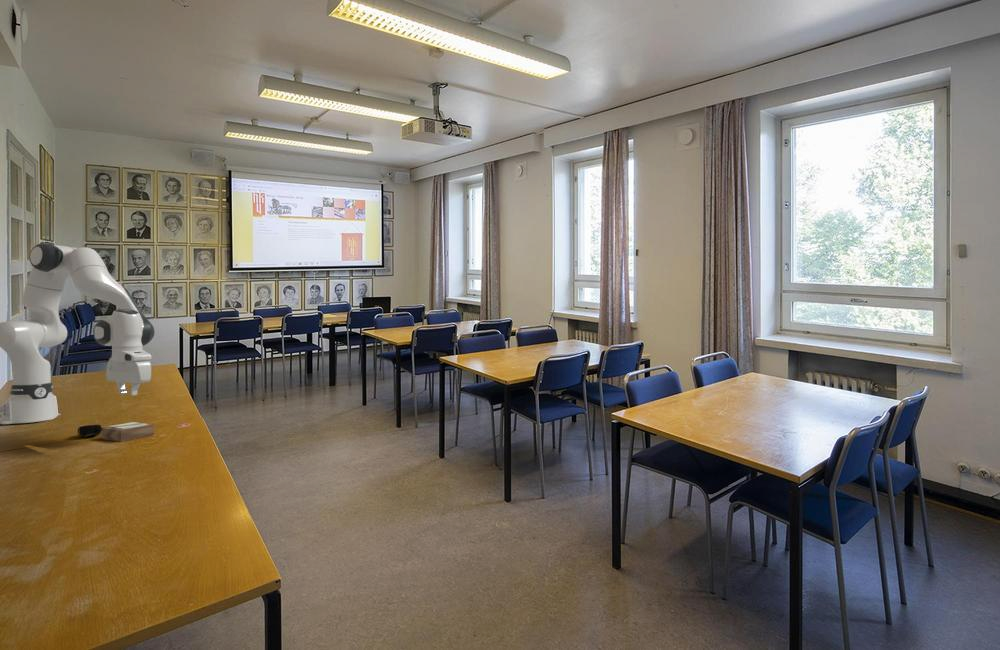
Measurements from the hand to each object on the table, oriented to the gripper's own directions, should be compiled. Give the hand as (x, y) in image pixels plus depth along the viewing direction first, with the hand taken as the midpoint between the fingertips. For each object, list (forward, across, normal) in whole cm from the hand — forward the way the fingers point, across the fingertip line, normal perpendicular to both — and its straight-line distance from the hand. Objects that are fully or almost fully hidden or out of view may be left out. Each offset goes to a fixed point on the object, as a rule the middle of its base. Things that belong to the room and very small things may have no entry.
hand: (128, 394), depth 187 cm
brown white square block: (+15, 0, 0) cm, 15 cm away
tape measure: (+14, -10, -4) cm, 18 cm away
